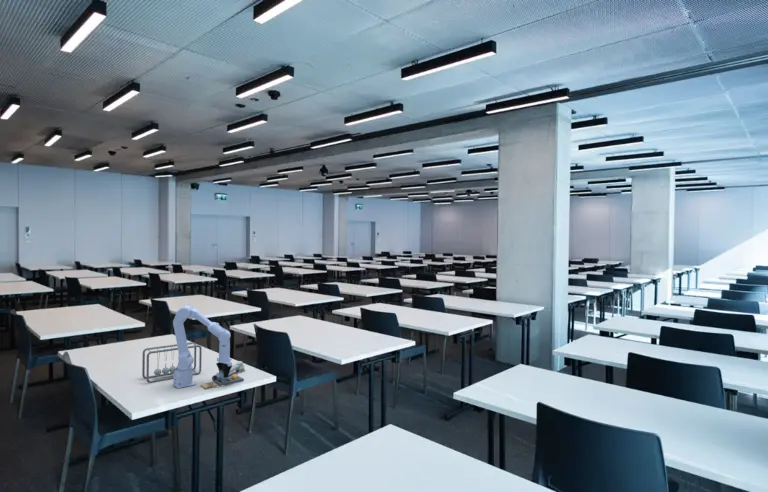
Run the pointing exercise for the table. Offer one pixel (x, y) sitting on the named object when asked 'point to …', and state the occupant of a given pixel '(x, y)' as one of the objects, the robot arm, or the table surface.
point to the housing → (229, 381)
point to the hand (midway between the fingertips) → (224, 376)
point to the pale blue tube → (231, 370)
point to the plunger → (235, 376)
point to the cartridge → (222, 376)
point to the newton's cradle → (165, 370)
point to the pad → (208, 385)
